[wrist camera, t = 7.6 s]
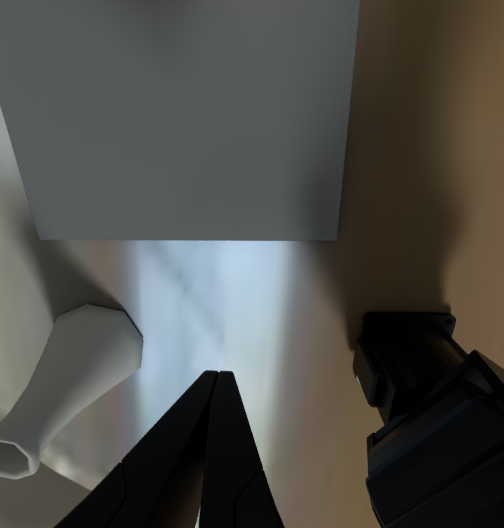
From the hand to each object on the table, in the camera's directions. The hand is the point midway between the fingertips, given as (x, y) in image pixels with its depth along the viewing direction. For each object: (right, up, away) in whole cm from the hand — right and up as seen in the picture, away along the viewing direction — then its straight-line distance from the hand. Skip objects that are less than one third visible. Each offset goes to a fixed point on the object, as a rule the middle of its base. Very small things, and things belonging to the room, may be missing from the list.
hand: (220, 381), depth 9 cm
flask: (-11, -3, +16) cm, 20 cm away
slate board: (-4, +15, +8) cm, 17 cm away
